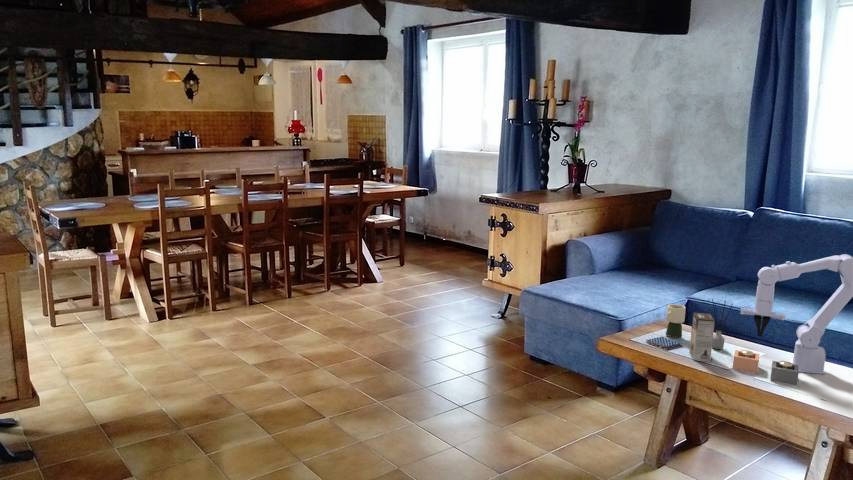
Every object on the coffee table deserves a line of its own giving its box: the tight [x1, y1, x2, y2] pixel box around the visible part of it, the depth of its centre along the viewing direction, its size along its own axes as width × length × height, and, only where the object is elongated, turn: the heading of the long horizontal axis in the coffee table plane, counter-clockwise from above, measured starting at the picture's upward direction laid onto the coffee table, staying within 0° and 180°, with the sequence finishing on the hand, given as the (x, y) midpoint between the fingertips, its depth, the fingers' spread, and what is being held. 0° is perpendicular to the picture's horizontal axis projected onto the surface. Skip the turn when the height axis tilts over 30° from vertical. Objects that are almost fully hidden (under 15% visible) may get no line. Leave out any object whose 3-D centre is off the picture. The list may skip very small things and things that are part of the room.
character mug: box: [665, 303, 687, 339], centre depth 275 cm, size 11×7×13 cm, turn 125°
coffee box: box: [688, 312, 716, 362], centre depth 250 cm, size 9×6×16 cm
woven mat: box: [645, 336, 683, 351], centre depth 265 cm, size 10×11×2 cm
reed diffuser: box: [711, 298, 733, 350], centre depth 260 cm, size 10×7×20 cm
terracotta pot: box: [732, 350, 760, 374], centre depth 241 cm, size 8×8×5 cm
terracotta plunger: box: [740, 349, 754, 358], centre depth 241 cm, size 5×5×6 cm
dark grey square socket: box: [770, 360, 800, 386], centre depth 231 cm, size 8×8×5 cm
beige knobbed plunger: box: [778, 360, 793, 369], centre depth 231 cm, size 5×5×6 cm
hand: (759, 335), depth 246 cm, fingers closed
